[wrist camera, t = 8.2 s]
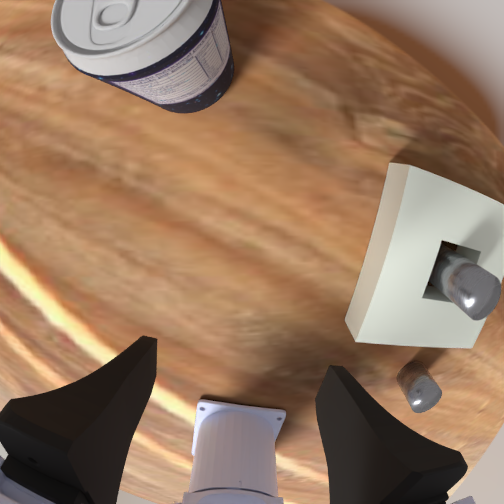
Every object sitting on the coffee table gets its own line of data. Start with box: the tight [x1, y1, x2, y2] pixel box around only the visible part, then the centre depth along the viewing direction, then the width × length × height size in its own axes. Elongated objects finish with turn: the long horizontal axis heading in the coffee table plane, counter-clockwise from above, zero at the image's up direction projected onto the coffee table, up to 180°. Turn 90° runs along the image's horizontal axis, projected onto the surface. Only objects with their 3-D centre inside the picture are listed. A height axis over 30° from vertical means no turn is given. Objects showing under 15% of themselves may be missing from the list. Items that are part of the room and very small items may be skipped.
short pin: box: [397, 361, 442, 413], centre depth 23 cm, size 3×3×4 cm
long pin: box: [428, 243, 501, 321], centre depth 18 cm, size 3×3×7 cm
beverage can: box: [51, 0, 234, 113], centre depth 11 cm, size 6×6×12 cm
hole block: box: [345, 162, 504, 348], centre depth 20 cm, size 12×12×3 cm
